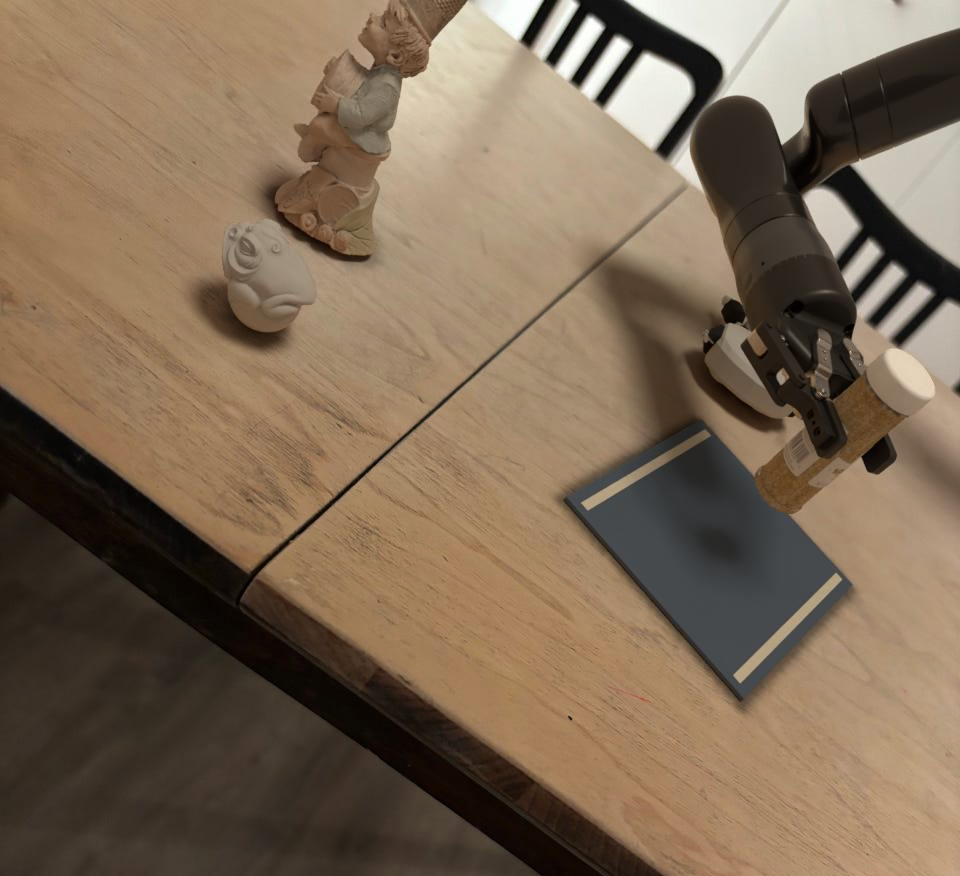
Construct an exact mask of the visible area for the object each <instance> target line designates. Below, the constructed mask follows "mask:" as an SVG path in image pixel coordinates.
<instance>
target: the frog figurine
mask: <svg viewBox="0 0 960 876" xmlns="http://www.w3.org/2000/svg"><path fill="white" fill-rule="evenodd" d="M221 250H222V251H221V262H222V271H223V277H224V278H226V279H227V280H228V281H227V298H228V299H227V300H228V303H229V305H230V308H231V310H232V312H233V313H234V315H235V316H236V318H237V319H238V320H239V321H240V322H241V323H242V324H243V325H244V326H246V327H247V328H250V329H251V330H254V331H256V332H261V333H275V332H279V331H281V330H283V329H285V328H287V327H289V326H290V325H291V324H292V323H293V322H294V321H295V320H296V318H297V317H298V315H299V313H300V311H301V308H302V306H311V305H313V304H315V303H316V299H317V294H318V293H317V284H316V281H315V278H314V277H313V275H312V273H311V271H310V269H309V266H308V265H307V263H306V261H305V260H304V258H303V256H302V254H301V252H300V251H299V250H298V247H296V246H295V245H294V244H293V243H292V242H291V241H290V239H288V237H287V236H286V234H285V233H283V231H282V228H281V225H280V224H279V223H278V222H276V221H274V219H271V218H270V219H269V218H262V219H260V220H257V221H256V222H254V223H251V222H250V221H240V222H231V223H229V224H228V225H227V226H226V228H225V229H224V232H223V239H222V249H221Z"/></svg>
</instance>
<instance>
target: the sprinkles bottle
mask: <svg viewBox="0 0 960 876" xmlns="http://www.w3.org/2000/svg"><path fill="white" fill-rule="evenodd" d="M867 366H868V367H867V370H865V371H864V373H863V374H862V376H860V378H858V379H857V380H856V381H855V382H854V383H853V384H852V385H851V386H850V387H848V388H847V389H846V390H845V391H844V392H843V393H842V394H841V395H839V396H838V397H837V398H835V399H834V400H833V401H832V402H833V403H834V405H835V408H836V410H837V413H838V415H839V418H840V420H841V423H842V425H843V428H844V430H845V432H846V435H847V438H848V440H847V443H846V445H845V446H844V447H843V448H842V449H841V450H840V451H839V452H837V453H836V454H835V455H834V456H833V457H832V458H830V459H824V458H821V457H818V456H817V453H816V451H815V448H814V446H813V444H812V442H811V440H810V438H809V435H808V431H807V430H806V427H805V426H804V427H802V428H801V429H800V430H799V431H798V432H796V434H795V435H794V436H793V437H792V438H790V440H788V441H787V442H786V444H784V447H782V449H781V450H779V451H778V452H777V453H775V455H774V456H773V457H772V458H771V459H770V460H769V461H767V463H765V464H763V465H761V466H759V467H758V469H757V470H756V471H755V473H754V477H755V482H756V486H757V489H758V490H759V493H760V494H761V496H762V497H763V499H764V500H765V501H766V502H767V503H768V504H769V505H770V506H771V507H773V508H775V509H776V510H777V511H780V512H782V513H785V514H789V515H793V514H796V513H798V512H799V511H801V510H802V508H803V507H804V505H805V504H807V502H809V501H810V500H811V499H813V497H815V496H816V495H817V494H818V493H820V492H821V491H822V490H823V489H824V488H827V486H829V485H830V484H831V483H832V482H834V481H835V480H836V479H837V478H839V477H840V475H842V474H843V473H844V472H845V471H846V470H847V469H848V468H850V467H851V466H852V465H853V464H855V462H857V461H858V460H859V459H860V458H861V456H862V455H864V454H865V453H866V452H867V451H868V450H869V449H871V448H872V447H873V445H874V444H875V443H876V442H878V441H879V440H880V439H881V438H882V437H883V436H885V435H886V434H887V433H888V434H889V433H890V432H891V431H892V430H893V429H894V428H895V427H897V426H898V425H899V424H900V423H902V421H904V420H905V419H907V418H910V417H911V416H914V415H916V414H917V413H918V412H919V411H921V410H922V409H923V408H924V407H925V406H926V405H928V404H929V403H930V402H931V401H932V400H933V399H934V397H935V395H936V386H935V383H934V380H933V379H932V377H931V375H930V374H929V372H928V371H927V370H926V368H925V367H924V366H923V365H922V364H921V363H920V362H919V361H918V360H917V359H916V358H915V357H914V356H912V355H911V354H910V353H908V352H906V351H904V350H902V349H900V348H895V347H891V348H886V349H885V350H884V351H883V352H882V353H880V354H879V355H878V356H877V357H876V358H875V359H873V361H872V362H870V363H869V365H867Z"/></svg>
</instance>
